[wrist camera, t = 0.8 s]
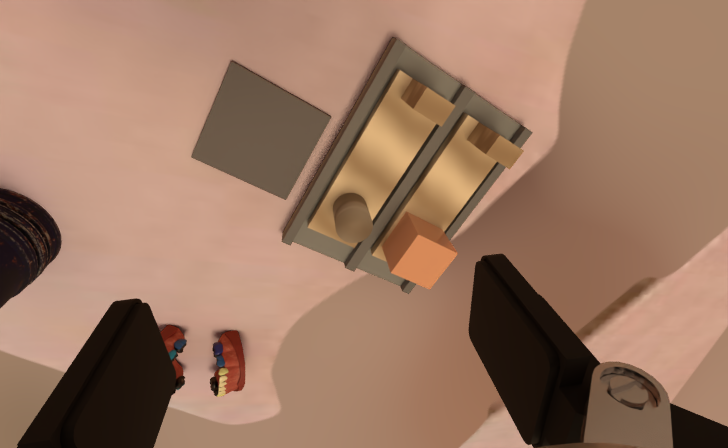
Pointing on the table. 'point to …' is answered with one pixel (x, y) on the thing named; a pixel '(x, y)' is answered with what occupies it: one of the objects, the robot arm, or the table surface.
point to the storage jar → (24, 242)
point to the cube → (418, 251)
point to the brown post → (352, 218)
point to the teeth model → (225, 353)
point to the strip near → (383, 148)
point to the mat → (259, 132)
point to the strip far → (452, 176)
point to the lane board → (464, 102)
